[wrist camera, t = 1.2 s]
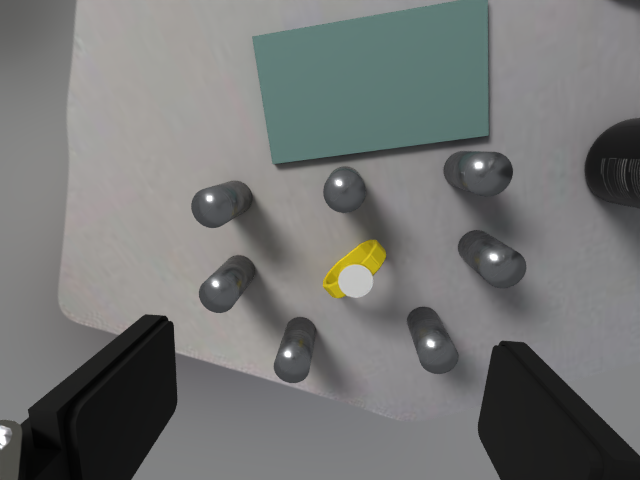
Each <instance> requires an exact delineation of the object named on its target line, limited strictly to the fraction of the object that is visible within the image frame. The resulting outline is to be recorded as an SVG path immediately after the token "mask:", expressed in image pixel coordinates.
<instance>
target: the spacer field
mask: <svg viewBox="0 0 640 480" xmlns="http://www.w3.org/2000/svg"><path fill="white" fill-rule="evenodd" d="M512 175H513V168H512V165H511V162H510V161H509V159H508V158H507V157H506V156H504V155H503V154H501V153H497V152H476V151H460V152H457V153H454V154H453V155H451V156H450V157H449V158H448V159H447V161H446V163H445V165H444V176H445V179H446V180H447V181H448V183H450V184H451V185H453V186H456V187H458V188H461V189H464V190H467V191H470V192H473V193H475V194H478V195H481V196H494V195H497V194H499V193H501V192H502V191H503V190H504V189H506V187H507V186H508V185H509V183H510V181H511V179H512ZM323 193H324V198H325V201H326V203H327V204H328V206H329V207H330V208H332V209H333V210H335V211H337V212H341V213H348V212H352V211H354V210H356V209H357V208H358V207H359V206H360V205H361V204H362V202H363V201H364V198H365V186H364V183H363V181H362V179H361V177H360V175H359V173H358V172H357V171H356V170H355V169H353V168H351V167H346V166H344V167H339V168H337V169H335V170H334V171H333V172H332V173H331V175H330V176H329V178H328V180H327V181H326V183H325V186H324V191H323ZM251 203H252V194H251V191H250V189H249V188H248V187H247V185H245V184H244V183H242V182H240V181H230V182H226V183H223V184H219V185H216V186H212V187H209V188H205V189H202V190H200V191H199V192H197V193H196V195H195V196H194V198H193V200H192V205H191V208H192V213H193V215H194V217H195V219H196V220H197V221H198V222H199V223H200V224H202V225H203V226H206V227H209V228H217V227H220V226H222V225H224V224H225V223H227V222H229V221H230V220H232V219H233V218H235V217H237V216H238V215H240V214H241V213H243V212H245V211H246V210H247V209H248V208H249V207H250V205H251ZM458 251H459V254H460V256H461V257H462V258H463V259H464V260H465V261H466V262H467V263H468V264H469V265H470V266H471V267H472V268H474V269H475V270H476V271H477V272H478V273H479V274H480V275H481V276H482V277H483V278H484V279H485V280H486V281H487V282H488V283H489V284H491V285H492V286H494V287H497V288H508V287H511V286H514V285H515V284H517V283H518V282H519V281H520V280H521V279H522V278H523V276H524V275H525V272H526V262H525V259H524V258H523V256H522V255H521V254H520V253H518V252H517V251H515V250H513V249H512V248H510V247H508V246H507V245H505V244H503V243H502V242H500V241H499V240H497V239H495V238H494V237H492V236H490V235H489V234H487V233H485V232H483V231H480V230H474V231H470V232H468V233H466V234H465V235H464V236H463V237H462V238H461V239H460V241H459V244H458ZM254 275H255V267H254V265H253V263H252V262H251V261H250V260H249V259H248V258H247V257H245V256H241V255H236V256H233V257H231V258H229V259H228V260H227V261H226V262H225V263H224V264H223V265H222V266H221V267H220V268H219V269H218V270H217V271H215V272H214V273H213V274H212V275H211V276H210V277H209V278H208V279H207V280H206V281H205V282H204V283H203V284H202V285H201V287H200V290H199V298H200V301H201V303H202V304H203V305H204V306H205V307H206V308H207V309H208V310H210V311H212V312H216V313H223V312H226V311H228V310H230V309H231V308H232V307H233V305H234V304H235V303H236V301H237V300H238V298H239V297H240V296H241V294H242V293H243V292H244V290H245V289H246V287H247V286H248V285H249V283H250V282H251V280H252V279H253V277H254ZM407 324H408V328H409V330H410V333H411V336H412V339H413V342H414V345H415V348H416V351H417V354H418V357H419V360H420V363H421V365H422V366H423V368H424V369H425V370H427V371H429V372H431V373H434V374H442V373H446V372H448V371H450V370H451V369H453V368H454V367H455V365H456V364H457V361H458V352H457V350H456V348H455V346H454V344H453V342H452V341H451V339H450V337H449V335H448V333H447V331H446V330H445V328H444V326H443V324H442V322H441V320H440V318H439V317H438V315H437V313H436V312H435V311H434V310H433V309H431V308H428V307H419V308H416V309H414V310H413V311H412V312H411V313H410V314H409V316H408V318H407ZM315 334H316V329H315V326H314V324H313V323H312V322H311V321H310V320H309V319H307V318H303V317H297V318H294V319H292V320H291V321H289V323H288V324H287V327H286V330H285V333H284V336H283V338H282V341H281V344H280V347H279V350H278V353H277V356H276V359H275V362H274V370H275V373H276V375H277V376H278V377H279V378H280V379H282V380H283V381H285V382H289V383H297V382H300V381H302V380H304V379H305V378H306V377H307V375H308V373H309V369H310V363H311V358H312V352H313V346H314V340H315Z"/></svg>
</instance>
